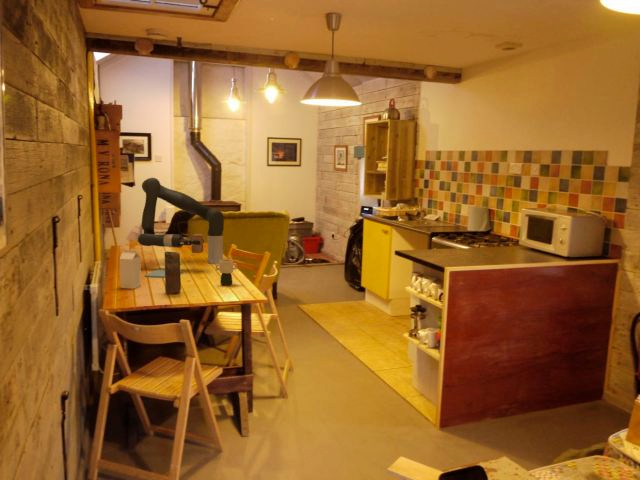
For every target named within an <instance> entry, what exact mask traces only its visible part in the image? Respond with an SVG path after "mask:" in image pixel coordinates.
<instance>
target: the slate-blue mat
mask: <svg viewBox="0 0 640 480" xmlns="http://www.w3.org/2000/svg"><path fill="white" fill-rule="evenodd" d="M183 273H185V271H184V270H180V275H181V274H183ZM144 278H157V279H159V278H161V279H165V269H154V271H151V272H148V273H146V274H144Z"/></svg>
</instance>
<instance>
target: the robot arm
mask: <svg viewBox="0 0 640 480" xmlns="http://www.w3.org/2000/svg"><path fill="white" fill-rule="evenodd" d="M141 187H142V188H141V189H142V191H143V192H144V193H145V203H144V206H143V212H142V217H141V226H140V227H141V229H143V230H142V231H143V233H141V234H139V236H138V238H137V242H138V243H139V244H140V245H141V246H144V247H151V246H152V247H153V246H155V247H162V248H163V247H165V248H176V249H177V248H178V249H179V248H182V247H183V246H192V245H193V244H194V245H200V241H195V240H194V241H193V240H191V237H184V236H183V235H182V234H175V233H174V234H171V233H170V234H160V233H159V234H156V233H155V220H156V210H157V202H158V199H161V200H163V201H164V202H166V203H169V204H170V205H172V206H173V207H176V208H178V209H180V210H182V211H184V212H186V213H190V214H192V215H196V216H198V217H200V218H201V219H203V220H205V221H207V222H208V230H207V264H212V265H213V264H214V265H216V264H219V260H221V259H224V244H223V243H224V241H223V240H224V238H223V235H224V230H225V229H224V228H225V225H224V223H225V221H224V219H225V217H224V213H223V212H222V211H220V210H219V209H215V208H212V207H210V206H208V205H207V206H206V205H204V204H202V203H200V202H199V201H198V200H196V199H195V198H194V197H192V196H189V195H187V194H186V193H183V192H181V191H177V190H174V189H171V188H167V187H166V186H163V185H162V184H161V182H160V180H159V179H158V178H155V177H149V178H147V179H145V180H144V181H143V182H142V184H141ZM204 243H205V240H204V238H203V244H204Z"/></svg>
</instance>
